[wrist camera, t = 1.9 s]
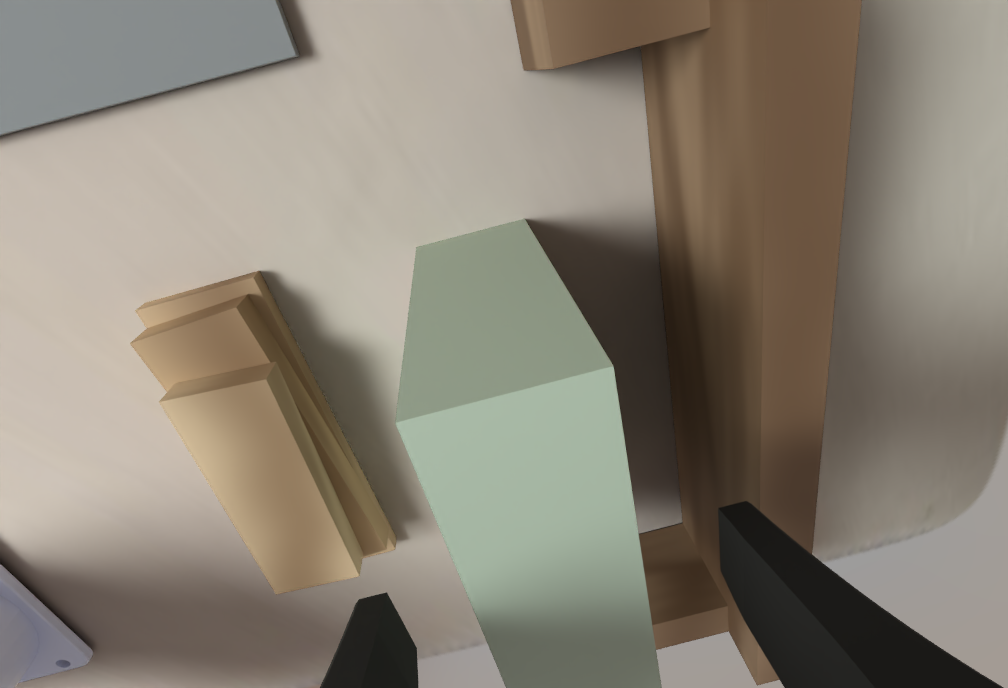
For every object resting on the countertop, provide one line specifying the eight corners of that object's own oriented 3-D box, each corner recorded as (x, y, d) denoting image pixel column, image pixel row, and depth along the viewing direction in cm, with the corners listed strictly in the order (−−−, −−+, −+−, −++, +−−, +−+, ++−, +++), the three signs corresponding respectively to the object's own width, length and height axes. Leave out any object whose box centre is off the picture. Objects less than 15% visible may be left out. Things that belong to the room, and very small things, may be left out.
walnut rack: (616, 564, 23) (668, 708, 18) (510, 0, 13) (560, -51, 8) (718, 538, 23) (801, 674, 18) (695, -49, 13) (873, -135, 8)
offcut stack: (312, 553, 22) (294, 620, 19) (149, 298, 16) (91, 342, 13) (401, 529, 21) (395, 592, 19) (268, 264, 16) (234, 302, 13)
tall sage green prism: (499, 501, 21) (537, 761, 13) (416, 246, 16) (394, 422, 8) (580, 480, 21) (667, 728, 13) (524, 218, 16) (613, 365, 8)
